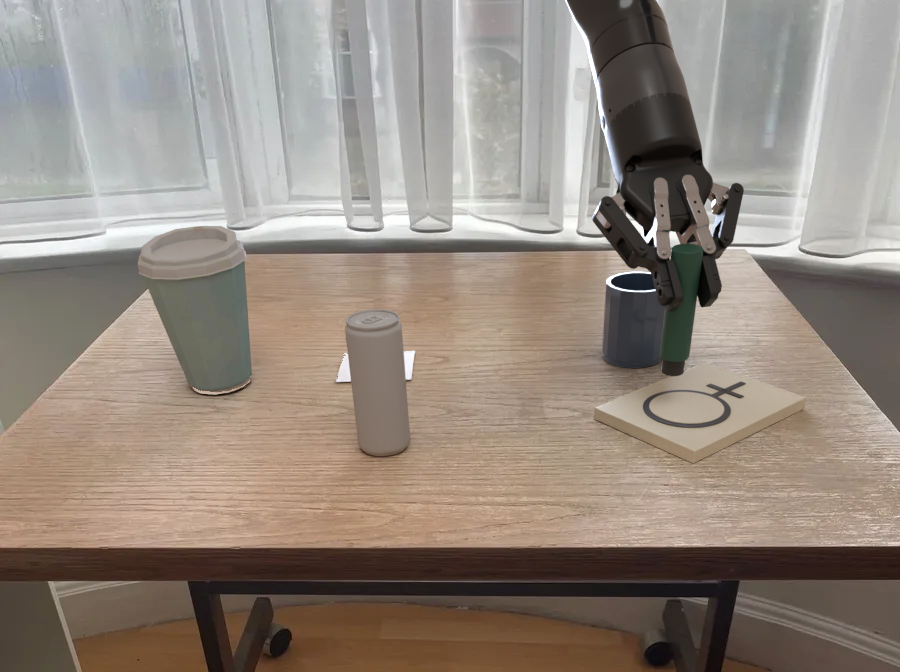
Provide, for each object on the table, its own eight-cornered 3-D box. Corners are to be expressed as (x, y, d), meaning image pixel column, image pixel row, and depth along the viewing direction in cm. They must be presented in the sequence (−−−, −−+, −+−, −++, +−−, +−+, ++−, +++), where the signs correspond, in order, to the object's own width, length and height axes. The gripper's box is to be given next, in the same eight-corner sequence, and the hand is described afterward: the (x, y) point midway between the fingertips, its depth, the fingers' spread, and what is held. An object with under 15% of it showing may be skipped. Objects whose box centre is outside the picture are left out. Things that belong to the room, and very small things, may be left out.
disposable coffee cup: (258, 404, 91) (229, 252, 82) (154, 407, 92) (115, 256, 83) (277, 363, 100) (254, 221, 91) (182, 366, 100) (149, 225, 91)
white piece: (411, 379, 94) (410, 372, 94) (335, 382, 95) (334, 374, 94) (415, 350, 101) (414, 343, 100) (344, 353, 101) (343, 346, 101)
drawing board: (703, 372, 93) (705, 359, 92) (804, 409, 85) (807, 395, 84) (593, 419, 85) (594, 405, 85) (693, 463, 78) (695, 449, 77)
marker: (670, 363, 83) (685, 241, 77) (692, 372, 82) (710, 248, 75) (651, 371, 82) (665, 247, 75) (673, 380, 80) (689, 254, 74)
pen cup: (630, 340, 101) (636, 267, 96) (676, 356, 97) (685, 281, 92) (588, 355, 98) (592, 281, 93) (634, 373, 94) (640, 296, 89)
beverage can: (421, 445, 83) (412, 316, 75) (382, 464, 80) (369, 332, 73) (387, 429, 86) (375, 304, 78) (347, 447, 83) (332, 319, 76)
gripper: (583, 96, 73) (631, 293, 71) (740, 83, 76) (790, 273, 74) (559, 154, 81) (601, 335, 79) (702, 141, 83) (747, 315, 81)
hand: (692, 304), depth 76 cm, fingers closed on marker, 2 cm apart
